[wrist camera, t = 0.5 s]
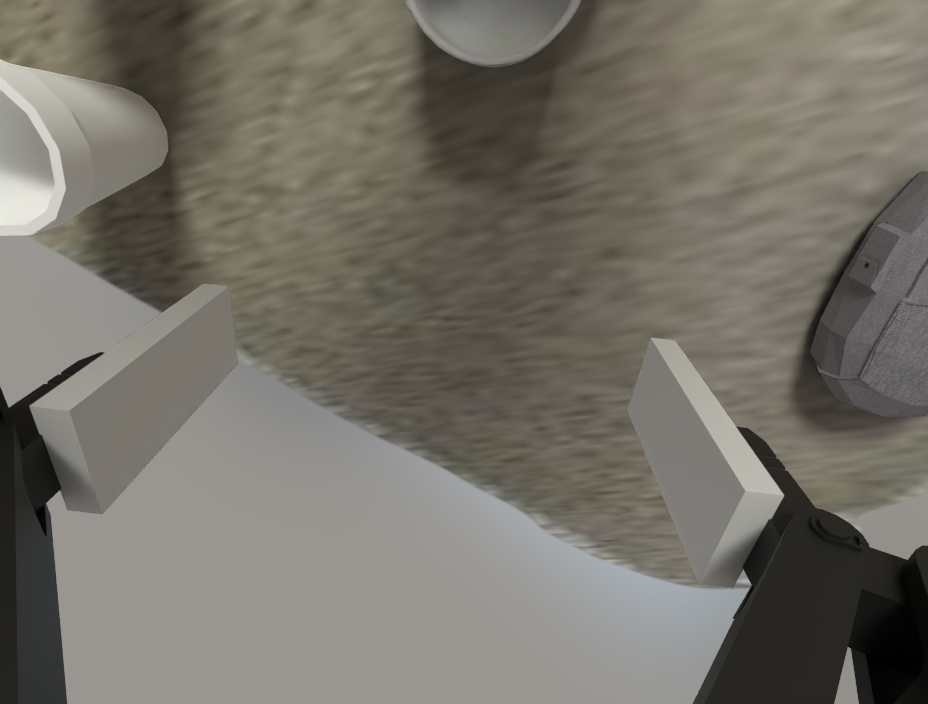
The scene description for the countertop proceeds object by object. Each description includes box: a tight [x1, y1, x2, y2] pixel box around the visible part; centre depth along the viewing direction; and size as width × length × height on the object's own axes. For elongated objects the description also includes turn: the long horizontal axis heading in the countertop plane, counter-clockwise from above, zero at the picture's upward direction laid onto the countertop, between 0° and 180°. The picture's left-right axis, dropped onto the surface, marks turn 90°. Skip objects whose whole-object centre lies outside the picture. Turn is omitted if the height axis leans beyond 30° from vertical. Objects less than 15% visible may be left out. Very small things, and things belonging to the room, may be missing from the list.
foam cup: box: [0, 60, 168, 236], centre depth 33 cm, size 10×9×13 cm
